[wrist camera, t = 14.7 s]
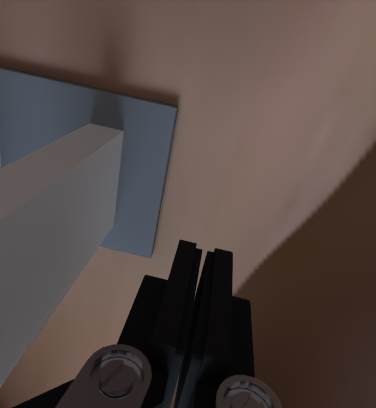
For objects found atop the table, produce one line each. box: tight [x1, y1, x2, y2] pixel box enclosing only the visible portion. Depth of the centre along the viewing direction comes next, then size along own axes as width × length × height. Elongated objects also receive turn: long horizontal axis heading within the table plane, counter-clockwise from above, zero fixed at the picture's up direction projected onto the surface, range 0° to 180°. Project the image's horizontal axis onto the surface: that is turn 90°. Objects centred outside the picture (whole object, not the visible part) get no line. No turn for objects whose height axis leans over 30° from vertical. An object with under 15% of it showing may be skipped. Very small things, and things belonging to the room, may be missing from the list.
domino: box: [0, 123, 124, 388], centre depth 12 cm, size 2×5×10 cm, turn 169°
